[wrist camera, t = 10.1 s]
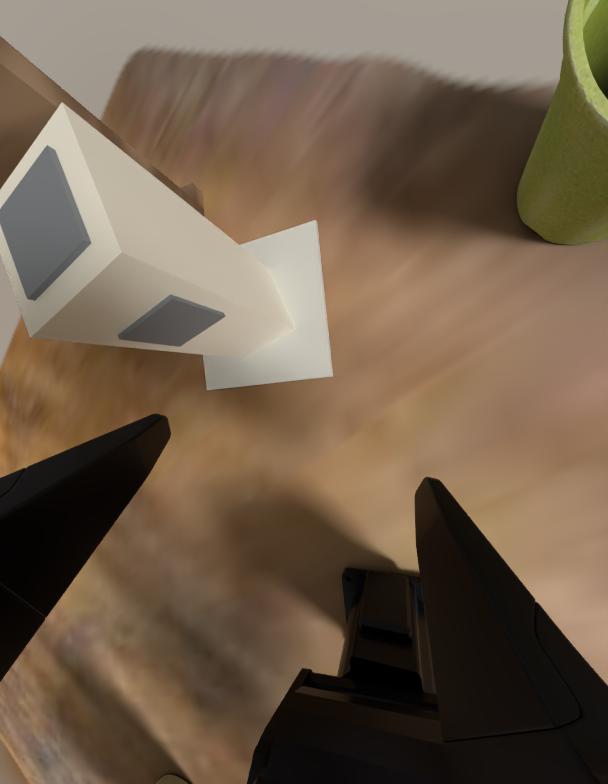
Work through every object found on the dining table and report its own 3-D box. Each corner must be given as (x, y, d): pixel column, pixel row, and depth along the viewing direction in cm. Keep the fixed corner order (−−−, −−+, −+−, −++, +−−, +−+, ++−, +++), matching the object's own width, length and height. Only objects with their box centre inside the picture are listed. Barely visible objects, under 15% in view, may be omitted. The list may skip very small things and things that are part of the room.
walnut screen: (207, 239, 22) (5, 99, 11) (95, 279, 27) (-125, 210, 15) (201, 191, 22) (-9, -4, 11) (90, 239, 27) (-136, 141, 15)
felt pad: (333, 376, 19) (331, 376, 19) (210, 390, 23) (207, 390, 22) (317, 223, 19) (315, 219, 18) (194, 262, 23) (191, 260, 22)
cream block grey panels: (296, 330, 19) (117, 255, 7) (244, 360, 21) (24, 342, 9) (269, 269, 20) (53, 95, 7) (219, 303, 21) (-24, 207, 9)
